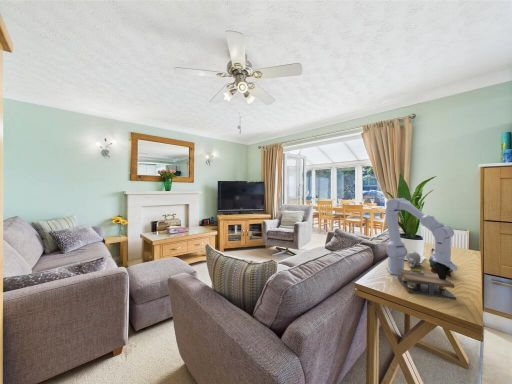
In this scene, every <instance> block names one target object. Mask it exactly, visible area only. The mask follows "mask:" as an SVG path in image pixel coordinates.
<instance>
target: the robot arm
mask: <svg viewBox="0 0 512 384" xmlns="http://www.w3.org/2000/svg"><path fill="white" fill-rule="evenodd" d="M385 205H386V208H385V219H386V225H387V231H388V237H389V241H388V243H387V244H386V247H387V248H386V254H387V256H388V258H387V266H386V271H388V272H389V274H390V275H396V276H402V275H401V274H400V273H399V269H400V270H405V258H406V255H407V253H408V249H407V248H406V245H405V243H404V242H403V241H402V238H401V233H400V227H399V220H398V214H399V213H400V212H401V211H406V212H408V213H410V214H411V215H413V216H414V217H415V218H417V219H418V220H419V222H420V224H421V225H422V226H424V227H425V228H426V229H427V230H429V231H430V232H431V234H432V236H433V237H434V249H435V255H429V258H430V259H432V261H434V262H436V263H433V265H434V266H435V268H436V270H437V273H438V277H439V278H440V279H447V277H448V276H447V274H448V272H449V271H452V270H453V271H457V270H458V267H457V265H455V264H454V263H453V261H451V259H452V257H451V256H452V255H451V254H452V238H453V236H454V235H455V231H454V229H453V228H452V227H451V226H448V225H445V224H444V223H443V222H440V221H439V220H437V218H436V217H435V216H434V215H429V214H425V213H423V211H422V210H420V209H419V208H417V207H416V206H414V205H413V204H412V202H411V201H410V200H407V198H405V197H401V198H397V197H396V198H389V199H388V200H387V201H386V203H385ZM435 218H436V219H435Z"/></svg>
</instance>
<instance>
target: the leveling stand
mask: <svg viewBox="0 0 512 384" xmlns="http://www.w3.org/2000/svg"><path fill="white" fill-rule="evenodd" d="M397 280H398V281H399V282H400V284H401V285H402V286H403V287H404V289H405V290H406V291H407V293H408V294H413V295H420V296H426V297H427V296H429V297H436V298H442V299H449V300H457V297H456V296H455V294H453V293H451V291H449V290H448V289H447V287H441V286H434V284H431V283H428V285H425V284H418V283H410V282H407V281H406V280H405V279H404V277H403V276H401V277H399V276H398V277H397Z"/></svg>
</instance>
